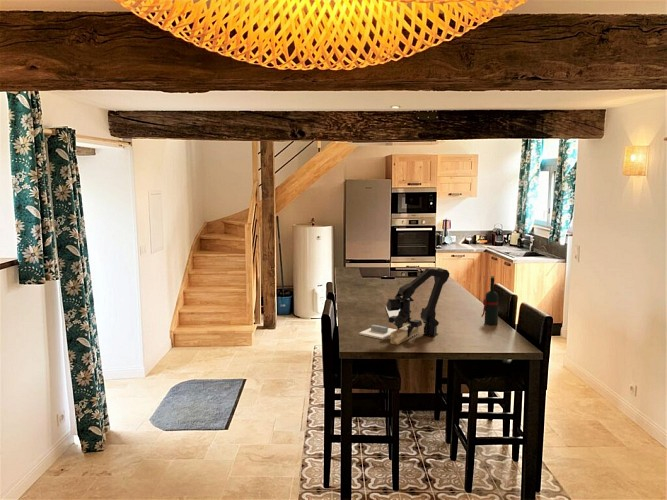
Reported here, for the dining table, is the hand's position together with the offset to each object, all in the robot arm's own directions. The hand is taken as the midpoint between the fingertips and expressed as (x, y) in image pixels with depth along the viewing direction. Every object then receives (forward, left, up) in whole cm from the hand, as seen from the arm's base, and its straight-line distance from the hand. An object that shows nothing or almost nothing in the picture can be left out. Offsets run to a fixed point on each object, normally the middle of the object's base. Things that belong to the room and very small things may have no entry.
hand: (404, 336), depth 290 cm
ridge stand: (+17, 0, -1) cm, 17 cm away
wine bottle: (-28, -56, -1) cm, 63 cm away
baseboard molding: (+31, -44, -2) cm, 54 cm away
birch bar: (0, 0, -1) cm, 1 cm away
